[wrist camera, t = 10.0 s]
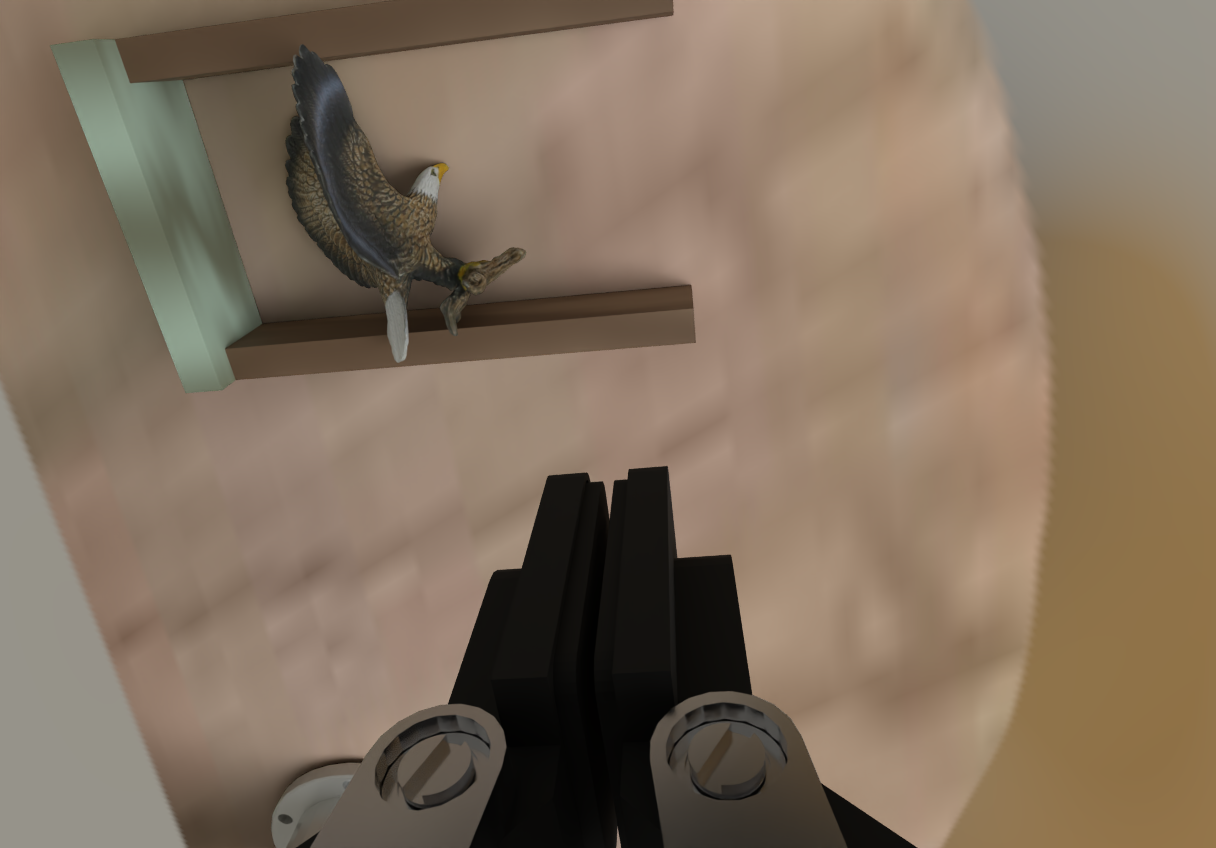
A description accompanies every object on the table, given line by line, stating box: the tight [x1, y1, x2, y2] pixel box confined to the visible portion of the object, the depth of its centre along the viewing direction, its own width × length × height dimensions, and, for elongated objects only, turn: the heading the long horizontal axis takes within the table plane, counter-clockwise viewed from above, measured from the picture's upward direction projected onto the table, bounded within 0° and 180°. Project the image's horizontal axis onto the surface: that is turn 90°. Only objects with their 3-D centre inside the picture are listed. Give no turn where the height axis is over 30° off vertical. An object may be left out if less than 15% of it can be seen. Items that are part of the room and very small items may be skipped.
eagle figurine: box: [285, 44, 526, 363], centre depth 26 cm, size 8×7×9 cm
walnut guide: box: [50, 0, 696, 393], centre depth 27 cm, size 12×20×4 cm, turn 96°
